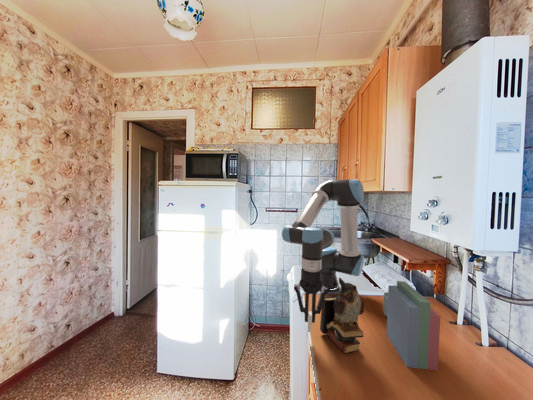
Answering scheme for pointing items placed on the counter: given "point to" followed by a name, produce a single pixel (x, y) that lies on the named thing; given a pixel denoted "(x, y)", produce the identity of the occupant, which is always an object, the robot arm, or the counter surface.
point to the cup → (385, 303)
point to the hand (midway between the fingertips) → (309, 329)
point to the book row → (413, 327)
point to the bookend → (343, 317)
